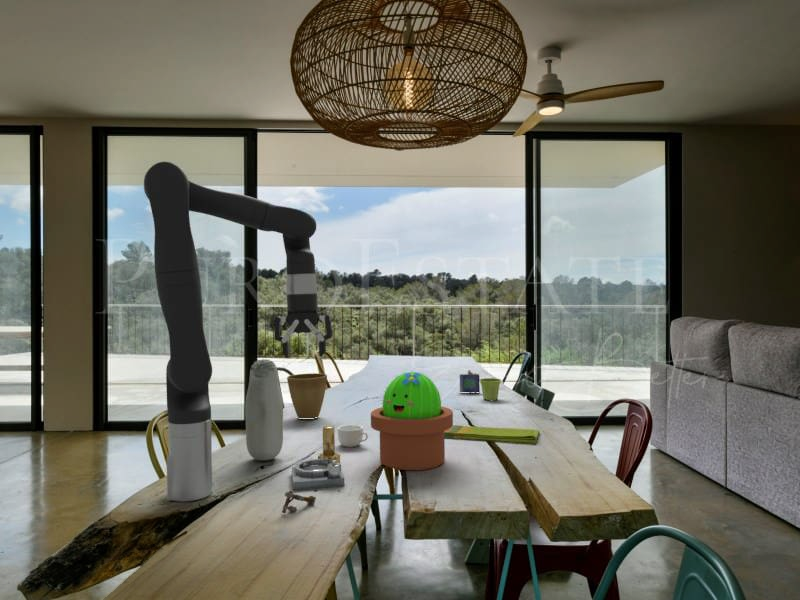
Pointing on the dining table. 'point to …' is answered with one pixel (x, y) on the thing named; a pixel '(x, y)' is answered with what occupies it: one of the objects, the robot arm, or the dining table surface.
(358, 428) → the teacup
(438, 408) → the potted cactus
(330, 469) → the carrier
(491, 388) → the plant pot
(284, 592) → the dining table surface
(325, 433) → the gear
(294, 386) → the plant pot
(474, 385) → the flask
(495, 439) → the dish towel
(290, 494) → the brown thin angular piece
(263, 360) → the white rounded cylinder
